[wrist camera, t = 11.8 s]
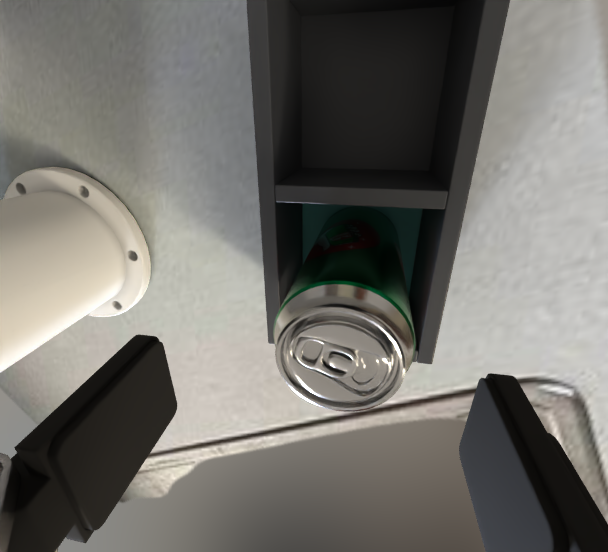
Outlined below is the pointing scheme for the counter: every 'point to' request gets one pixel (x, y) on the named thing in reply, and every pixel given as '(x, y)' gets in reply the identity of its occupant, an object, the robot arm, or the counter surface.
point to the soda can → (347, 316)
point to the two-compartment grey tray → (370, 130)
